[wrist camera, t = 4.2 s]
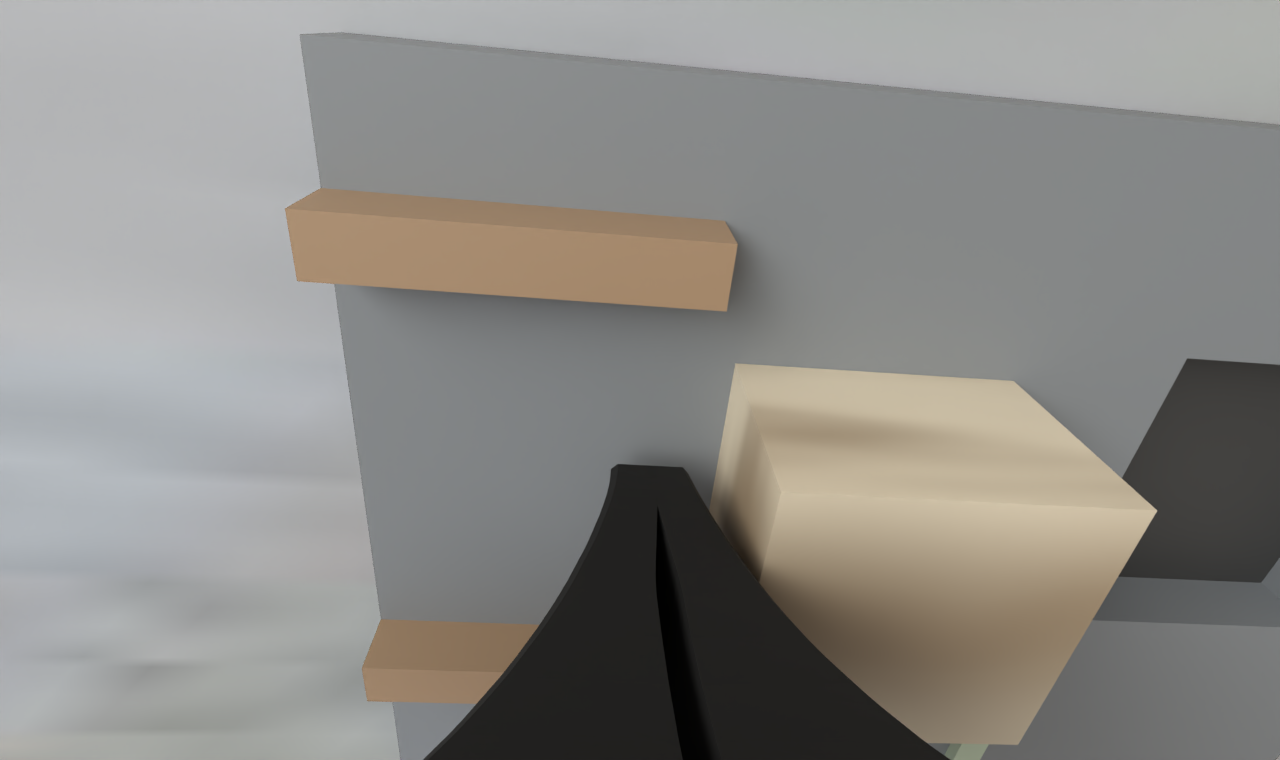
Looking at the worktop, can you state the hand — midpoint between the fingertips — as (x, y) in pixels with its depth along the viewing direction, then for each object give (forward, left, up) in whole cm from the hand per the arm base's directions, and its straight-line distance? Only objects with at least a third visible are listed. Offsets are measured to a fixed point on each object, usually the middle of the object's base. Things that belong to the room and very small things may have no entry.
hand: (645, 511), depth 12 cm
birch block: (0, -4, -1) cm, 4 cm away
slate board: (-2, -6, -2) cm, 7 cm away
